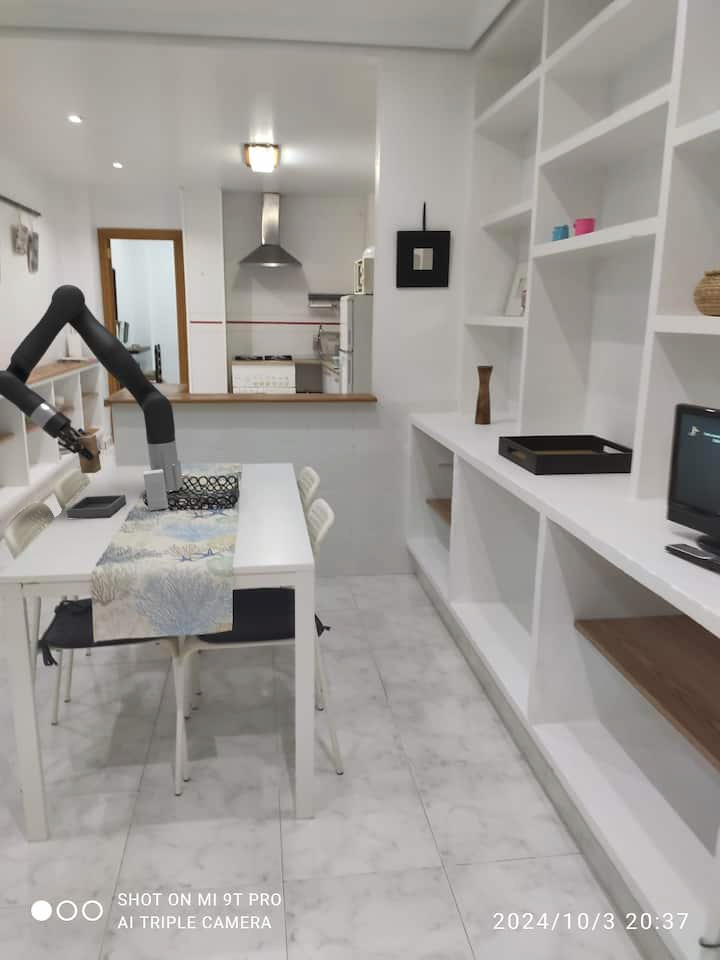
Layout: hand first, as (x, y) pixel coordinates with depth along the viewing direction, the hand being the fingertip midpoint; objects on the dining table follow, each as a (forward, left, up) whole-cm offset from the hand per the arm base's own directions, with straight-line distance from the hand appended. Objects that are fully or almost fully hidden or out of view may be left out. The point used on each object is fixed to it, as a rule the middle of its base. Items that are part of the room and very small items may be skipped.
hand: (95, 456), depth 216 cm
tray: (+2, 0, -18) cm, 18 cm away
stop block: (+2, 0, -5) cm, 5 cm away
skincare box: (-17, -1, -18) cm, 25 cm away
